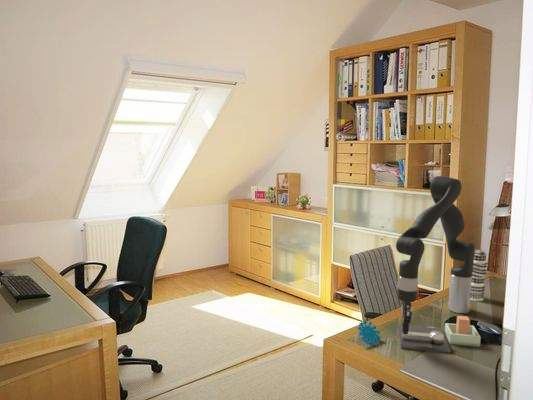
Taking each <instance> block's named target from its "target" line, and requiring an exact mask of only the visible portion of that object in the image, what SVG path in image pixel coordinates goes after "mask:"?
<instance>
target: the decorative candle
mask: <svg viewBox="0 0 533 400" xmlns="http://www.w3.org/2000/svg"><path fill="white" fill-rule="evenodd" d="M487 265H488V262H487V253H486V252H485V251H484V250H482V249H475V255H474V262H473V271H472V282H471V295H470V301H476V302H480V301H481V302H482V301H484V300H485V292H484V291H485V278H486V275H487V269H486V268H488V266H487Z"/></svg>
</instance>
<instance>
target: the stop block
mask: <svg viewBox="0 0 533 400" xmlns="http://www.w3.org/2000/svg"><path fill="white" fill-rule="evenodd" d="M455 324H456V334H463V335H469V328H470V325H471V319H470V318H469V316H467V315H466V316H465V315H456V323H455Z"/></svg>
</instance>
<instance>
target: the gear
mask: <svg viewBox="0 0 533 400" xmlns="http://www.w3.org/2000/svg"><path fill="white" fill-rule="evenodd" d="M358 324H359V326H358V327H357V330H358V336H361V337H360V339H361V341H362V342H364V341H366V340H367V341H366V342H365V344H366V345H367V346H368V345H371V346H376V345H377V344H379V343H380V341H379V340H380V339H381V336H380V333H381V332H382V330H381V329H378V330H376V329H377V326H376V325H373V323H372V322H371V321H367V320H363V321H361V322H359V323H358ZM372 325H373V326H372Z"/></svg>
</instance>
